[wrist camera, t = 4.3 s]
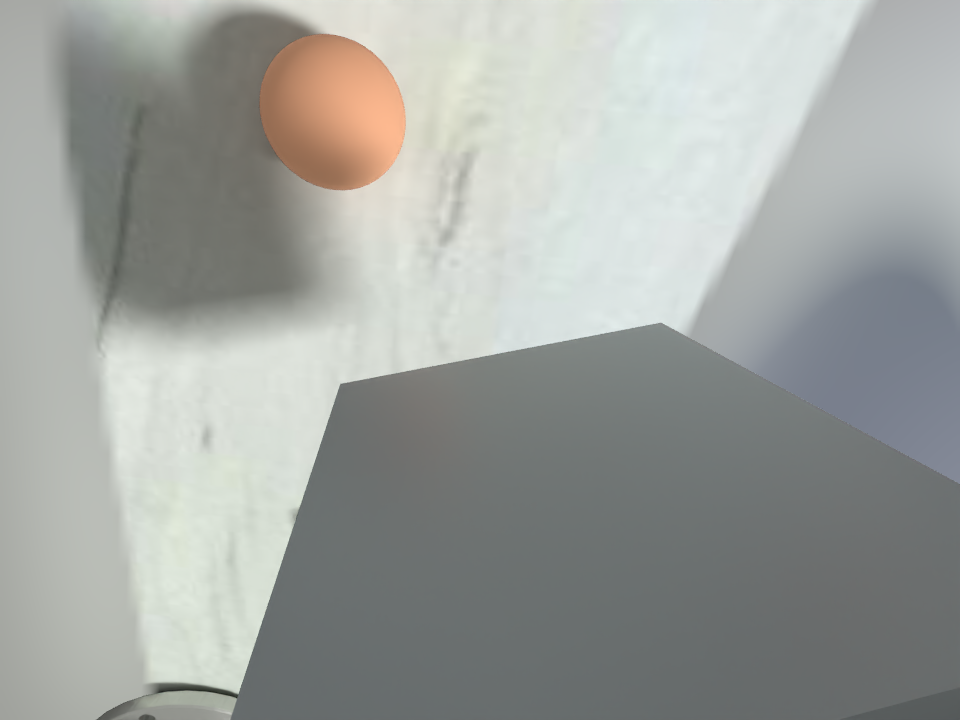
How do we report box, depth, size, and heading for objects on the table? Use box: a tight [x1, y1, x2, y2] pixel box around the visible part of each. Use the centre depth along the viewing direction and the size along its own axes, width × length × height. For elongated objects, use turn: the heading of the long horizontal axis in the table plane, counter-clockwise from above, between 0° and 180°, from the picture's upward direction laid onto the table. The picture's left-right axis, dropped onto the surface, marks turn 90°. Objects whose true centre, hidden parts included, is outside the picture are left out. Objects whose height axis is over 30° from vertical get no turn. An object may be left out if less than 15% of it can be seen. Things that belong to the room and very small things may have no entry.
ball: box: [260, 34, 406, 190], centre depth 18 cm, size 5×5×5 cm
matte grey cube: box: [230, 323, 960, 720], centre depth 9 cm, size 8×8×9 cm
